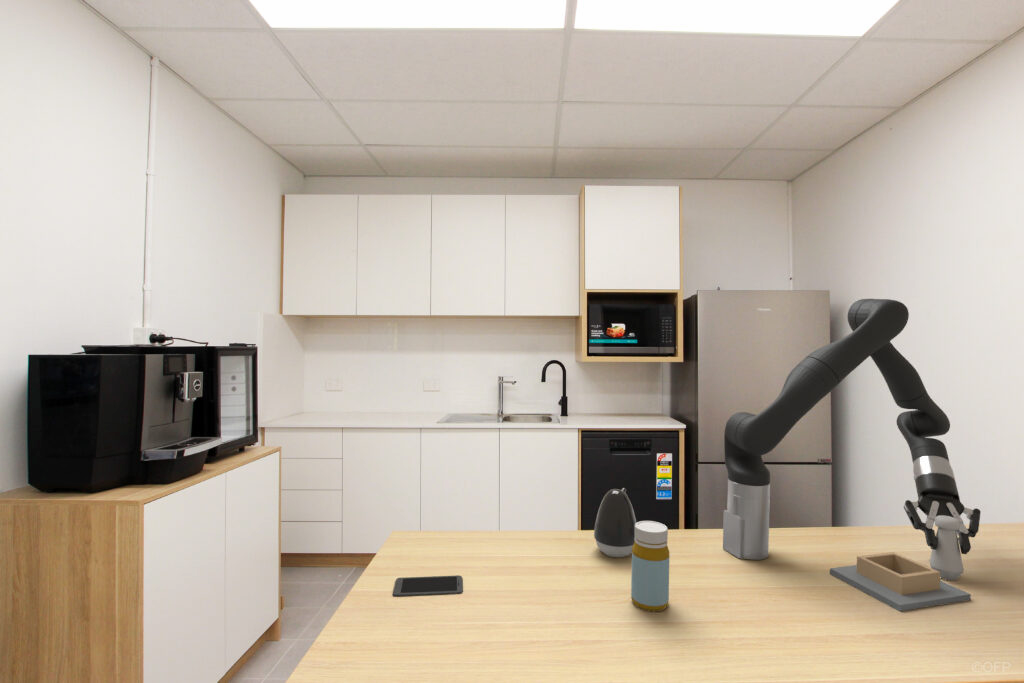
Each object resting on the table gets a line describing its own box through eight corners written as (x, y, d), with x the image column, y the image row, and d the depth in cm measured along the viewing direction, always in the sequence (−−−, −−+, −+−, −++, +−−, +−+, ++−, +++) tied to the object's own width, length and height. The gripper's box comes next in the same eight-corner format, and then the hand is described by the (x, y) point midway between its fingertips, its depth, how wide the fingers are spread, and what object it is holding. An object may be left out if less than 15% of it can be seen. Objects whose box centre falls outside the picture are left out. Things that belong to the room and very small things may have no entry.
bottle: (669, 597, 105) (670, 522, 105) (667, 615, 98) (669, 535, 98) (633, 591, 107) (634, 518, 107) (629, 608, 101) (630, 530, 100)
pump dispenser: (643, 550, 128) (644, 487, 127) (628, 566, 119) (629, 498, 119) (604, 540, 133) (605, 480, 133) (586, 555, 124) (587, 491, 124)
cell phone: (395, 581, 111) (395, 577, 111) (462, 578, 113) (462, 575, 113) (392, 598, 104) (392, 595, 104) (463, 595, 106) (463, 592, 106)
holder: (900, 611, 101) (900, 586, 101) (829, 573, 116) (830, 552, 116) (970, 600, 106) (971, 576, 105) (893, 565, 121) (894, 544, 121)
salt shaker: (969, 584, 112) (971, 523, 112) (938, 581, 113) (940, 520, 113) (952, 571, 118) (954, 513, 118) (923, 569, 119) (925, 511, 119)
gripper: (900, 468, 125) (912, 536, 114) (978, 475, 119) (998, 548, 108) (894, 484, 130) (905, 551, 119) (969, 492, 124) (987, 564, 113)
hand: (949, 549), depth 114 cm, fingers open, 4 cm apart
